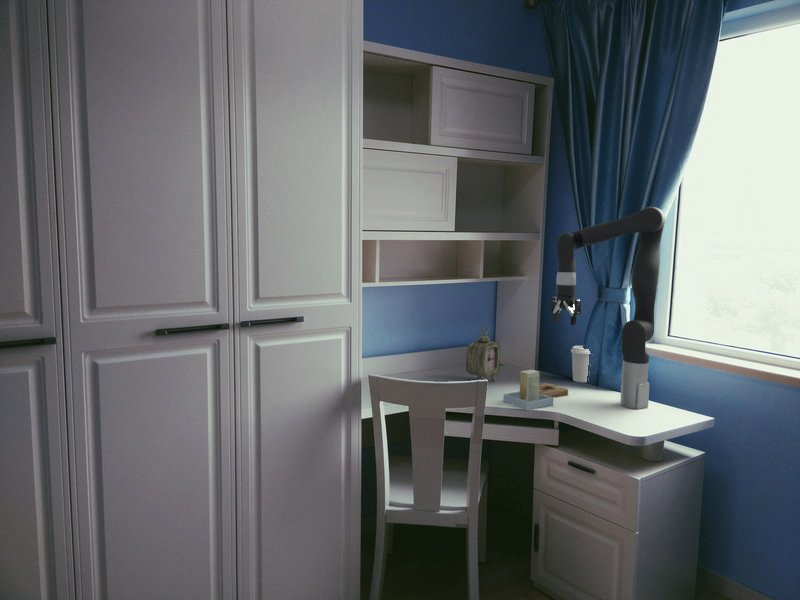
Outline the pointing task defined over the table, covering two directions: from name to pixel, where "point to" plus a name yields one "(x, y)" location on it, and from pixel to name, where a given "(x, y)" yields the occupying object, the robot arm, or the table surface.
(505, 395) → the tray
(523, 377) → the skincare box
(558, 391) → the walnut plate
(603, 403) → the table surface
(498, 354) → the tabletop clock
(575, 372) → the coffee cup
